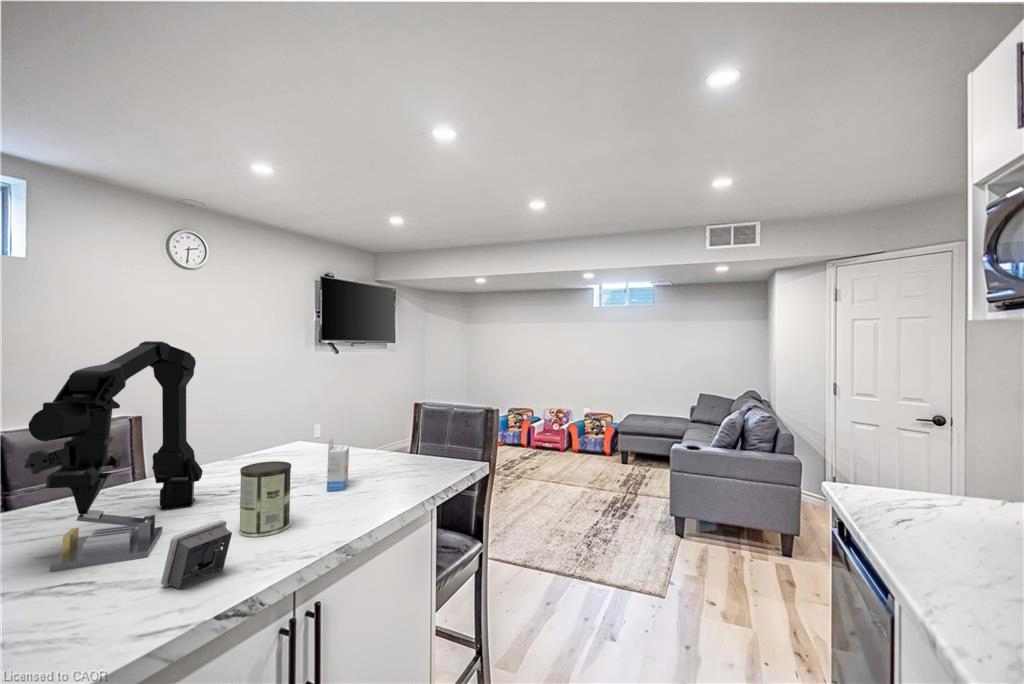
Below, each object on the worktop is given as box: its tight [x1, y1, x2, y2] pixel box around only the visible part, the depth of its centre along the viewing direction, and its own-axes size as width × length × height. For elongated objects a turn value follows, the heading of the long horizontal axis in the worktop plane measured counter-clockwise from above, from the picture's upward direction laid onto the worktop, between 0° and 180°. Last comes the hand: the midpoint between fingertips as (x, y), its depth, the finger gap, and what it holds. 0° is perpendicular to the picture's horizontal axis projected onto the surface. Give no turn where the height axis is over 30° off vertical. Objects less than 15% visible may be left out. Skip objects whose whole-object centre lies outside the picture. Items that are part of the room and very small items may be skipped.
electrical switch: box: [160, 519, 233, 591], centre depth 82 cm, size 9×5×9 cm, turn 158°
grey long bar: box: [76, 509, 153, 527], centre depth 93 cm, size 12×3×2 cm, turn 117°
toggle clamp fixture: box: [49, 514, 163, 573], centre depth 93 cm, size 14×14×5 cm
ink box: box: [326, 435, 350, 492], centre depth 138 cm, size 8×5×15 cm, turn 13°
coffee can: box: [238, 460, 292, 538], centre depth 105 cm, size 10×10×14 cm
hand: (82, 513), depth 91 cm, fingers closed, pressing on grey long bar
